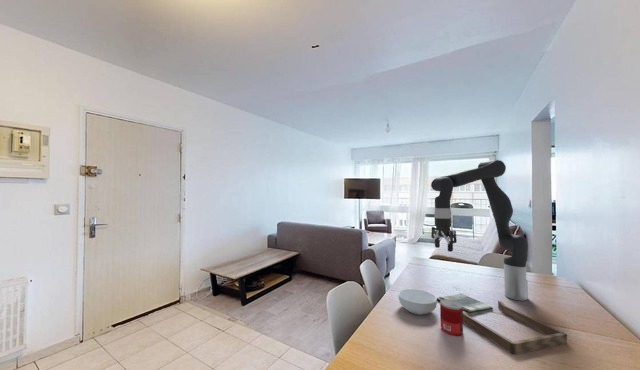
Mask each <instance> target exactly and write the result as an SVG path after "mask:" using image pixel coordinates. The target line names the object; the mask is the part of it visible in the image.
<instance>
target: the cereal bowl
mask: <svg viewBox="0 0 640 370" xmlns="http://www.w3.org/2000/svg"><path fill="white" fill-rule="evenodd" d="M437 298H438V297H436V295H434V294H433V293H431V292H428V291H426V290H423V289H416V288H411V289H410V288H405V289H403V290H400V291H399V292H398V300H399V303H400V305H401V307H403V308H404V309H405V310H406V311H409V312H410V313H412V314H414V313H415V315H422V316H423V315H427V314H429V313H432V312H433V311H434V310H436V308H437V304H438V300H437Z"/></svg>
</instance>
